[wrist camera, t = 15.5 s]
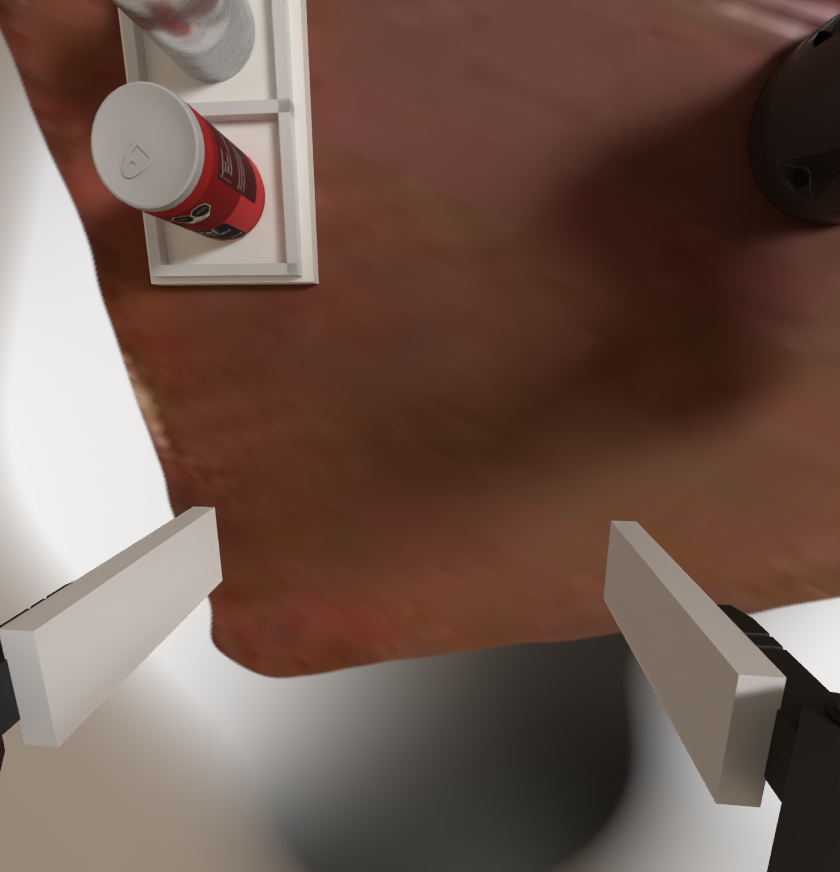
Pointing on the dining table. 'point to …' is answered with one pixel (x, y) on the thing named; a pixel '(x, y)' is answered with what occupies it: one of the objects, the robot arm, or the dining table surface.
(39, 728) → the robot arm
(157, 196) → the canned food
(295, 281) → the divided white tray
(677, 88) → the dining table surface
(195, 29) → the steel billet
